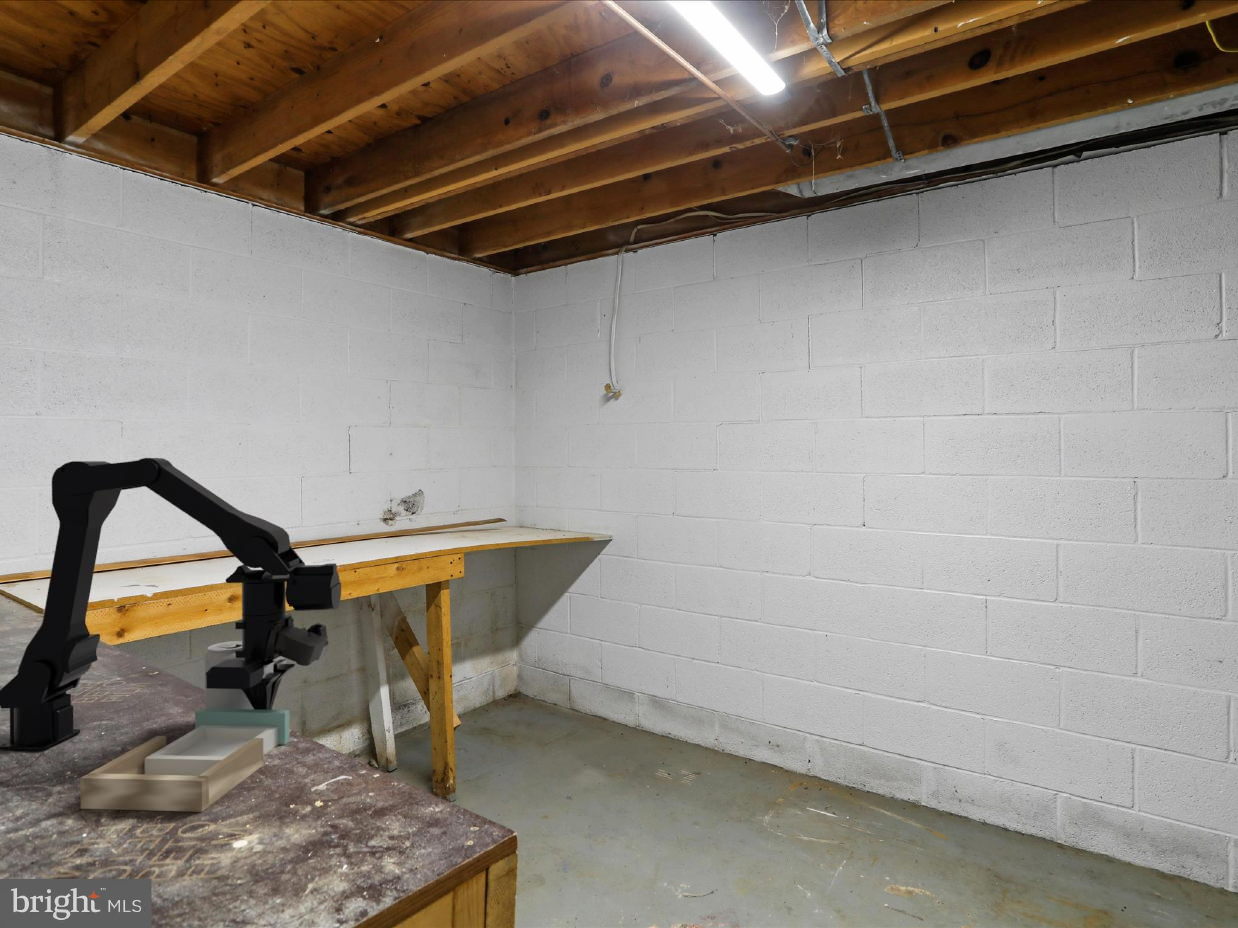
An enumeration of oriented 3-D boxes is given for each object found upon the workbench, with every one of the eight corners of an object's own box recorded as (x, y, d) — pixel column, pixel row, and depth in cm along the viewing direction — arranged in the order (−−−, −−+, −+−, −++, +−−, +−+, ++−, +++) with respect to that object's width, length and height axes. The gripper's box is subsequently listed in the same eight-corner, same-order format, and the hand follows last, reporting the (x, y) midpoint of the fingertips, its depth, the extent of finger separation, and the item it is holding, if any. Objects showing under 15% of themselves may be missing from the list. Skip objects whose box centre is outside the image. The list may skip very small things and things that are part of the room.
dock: (80, 808, 80) (80, 777, 80) (157, 762, 92) (157, 735, 92) (202, 811, 79) (202, 780, 79) (263, 764, 91) (263, 737, 91)
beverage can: (232, 733, 101) (232, 651, 101) (194, 730, 103) (194, 649, 103) (263, 717, 108) (262, 640, 108) (227, 714, 109) (226, 638, 109)
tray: (137, 777, 87) (136, 742, 87) (201, 739, 99) (200, 708, 99) (237, 780, 86) (237, 744, 86) (289, 740, 99) (289, 709, 99)
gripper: (283, 627, 92) (283, 744, 92) (346, 599, 111) (346, 697, 111) (202, 626, 93) (202, 743, 93) (278, 599, 112) (278, 696, 112)
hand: (264, 717), depth 102 cm, fingers closed
